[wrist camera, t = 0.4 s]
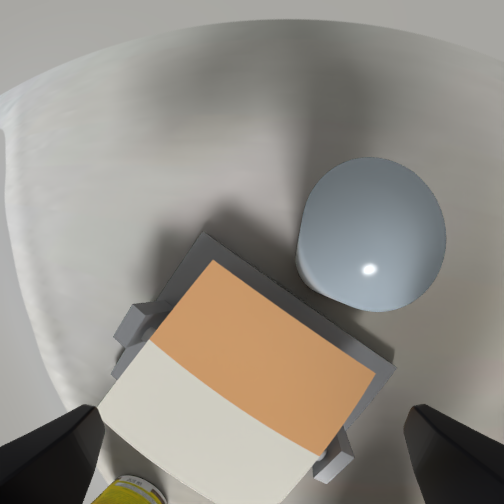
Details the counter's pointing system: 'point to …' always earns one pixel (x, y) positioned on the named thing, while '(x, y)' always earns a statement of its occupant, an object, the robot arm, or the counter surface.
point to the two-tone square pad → (234, 393)
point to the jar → (371, 235)
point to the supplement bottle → (130, 492)
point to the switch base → (210, 249)
